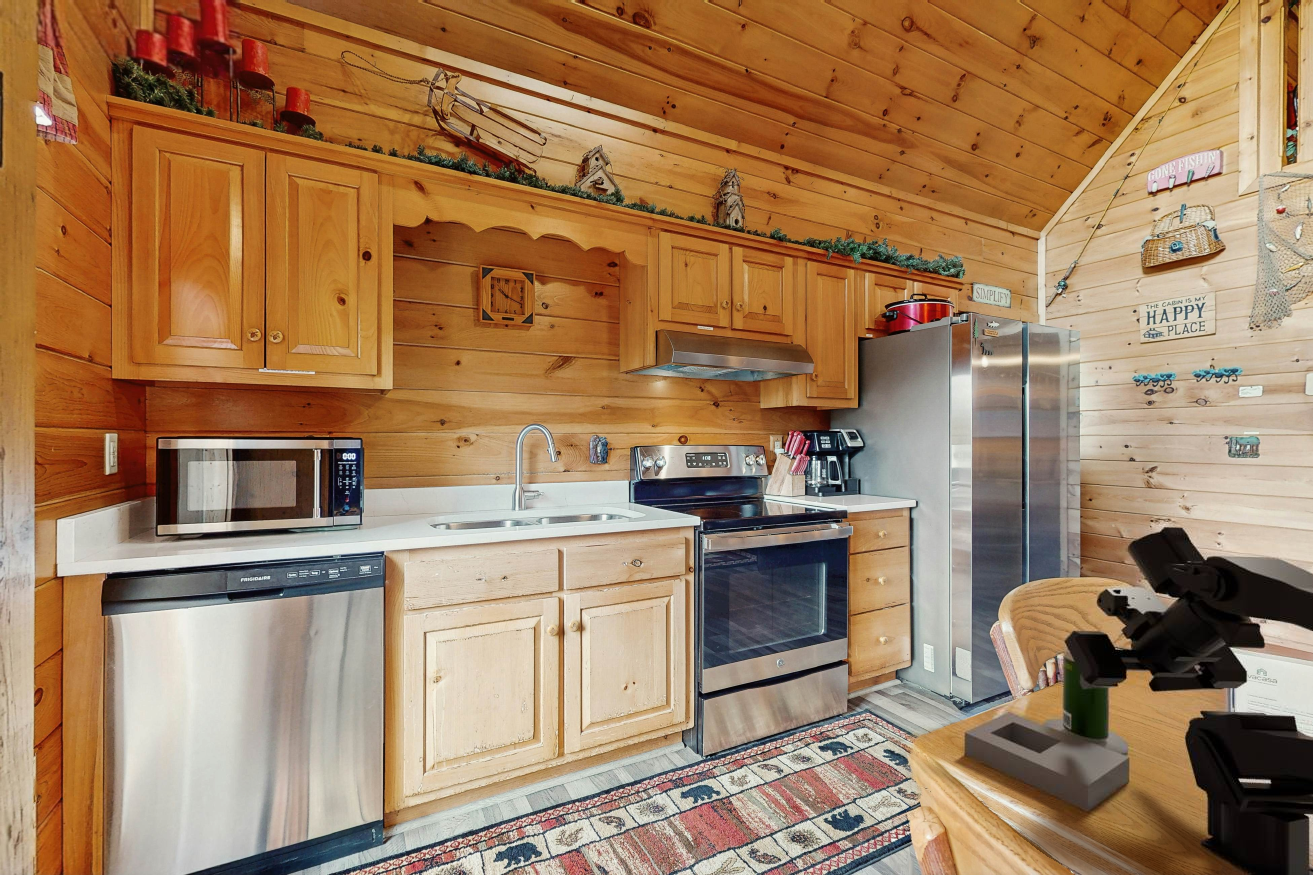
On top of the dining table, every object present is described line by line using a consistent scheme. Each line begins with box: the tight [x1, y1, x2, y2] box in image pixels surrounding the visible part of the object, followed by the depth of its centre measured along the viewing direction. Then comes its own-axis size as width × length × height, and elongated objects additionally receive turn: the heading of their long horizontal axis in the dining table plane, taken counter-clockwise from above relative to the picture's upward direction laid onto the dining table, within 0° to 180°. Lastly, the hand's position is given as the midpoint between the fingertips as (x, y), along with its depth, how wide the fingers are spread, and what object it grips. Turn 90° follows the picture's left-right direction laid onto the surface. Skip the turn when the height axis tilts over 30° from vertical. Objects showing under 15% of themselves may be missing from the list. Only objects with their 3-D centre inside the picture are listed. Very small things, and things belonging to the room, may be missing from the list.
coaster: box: [1042, 718, 1130, 756], centre depth 84 cm, size 10×10×1 cm
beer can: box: [1062, 646, 1110, 744], centre depth 84 cm, size 5×5×12 cm
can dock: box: [964, 711, 1130, 812], centre depth 76 cm, size 14×12×3 cm
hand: (1117, 686), depth 78 cm, fingers open, 9 cm apart
